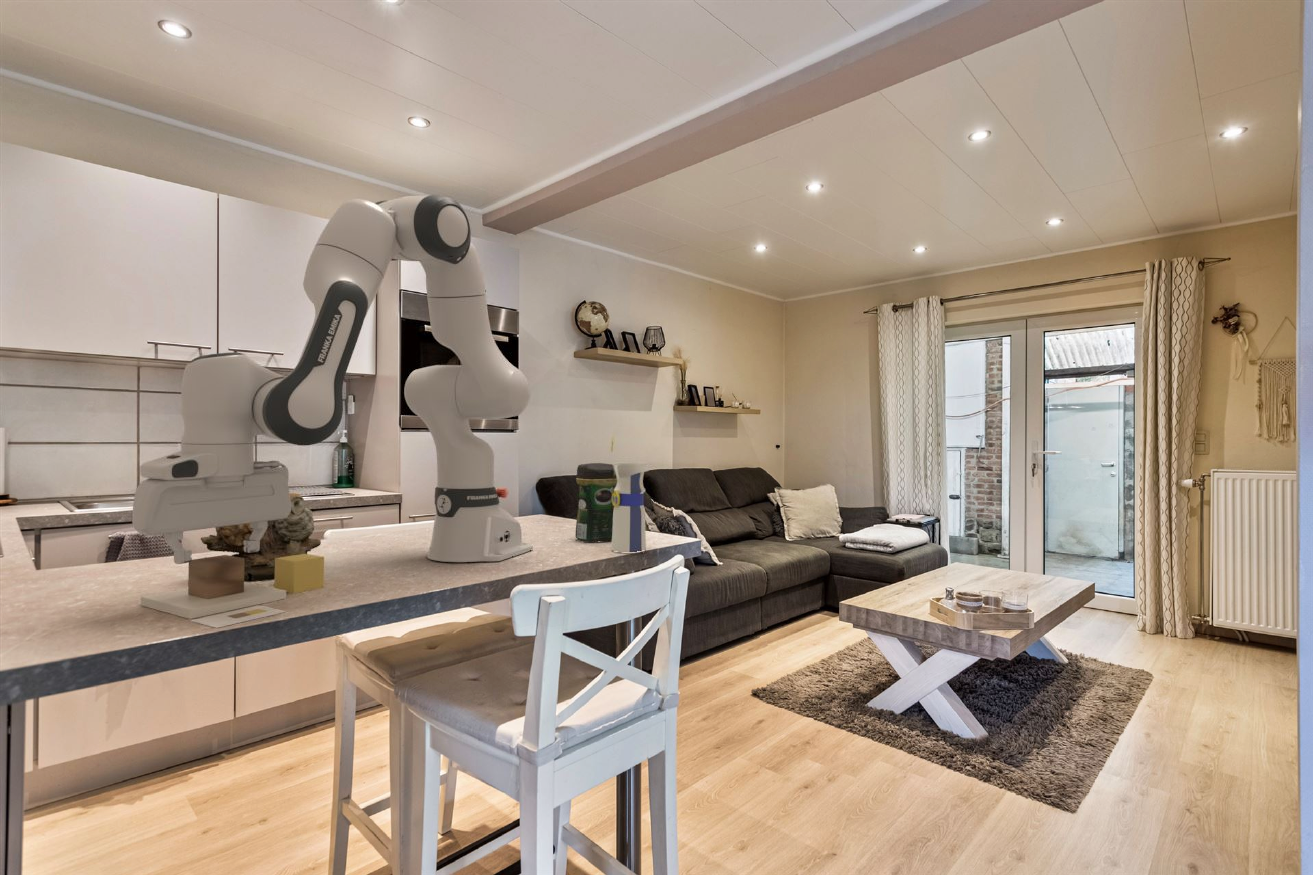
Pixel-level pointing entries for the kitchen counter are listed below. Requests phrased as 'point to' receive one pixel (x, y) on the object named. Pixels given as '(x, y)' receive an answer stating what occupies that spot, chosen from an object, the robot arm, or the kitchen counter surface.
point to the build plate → (211, 601)
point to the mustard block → (299, 573)
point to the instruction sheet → (237, 616)
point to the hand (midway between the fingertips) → (218, 557)
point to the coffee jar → (595, 502)
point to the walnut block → (216, 576)
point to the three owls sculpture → (268, 540)
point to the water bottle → (629, 507)
